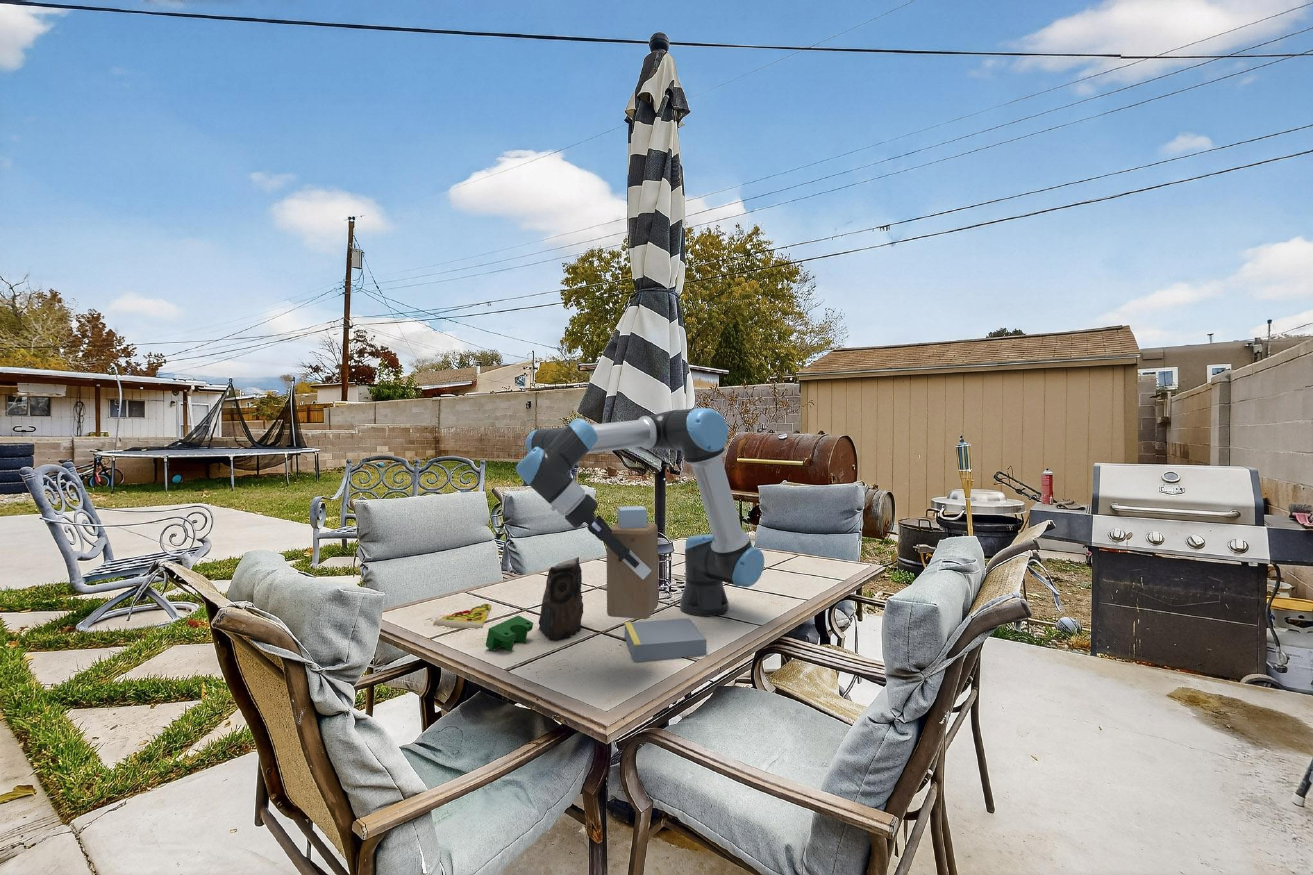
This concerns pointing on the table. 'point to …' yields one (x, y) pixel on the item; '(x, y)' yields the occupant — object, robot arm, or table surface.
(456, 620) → the pizza slice
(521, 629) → the clamp
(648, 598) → the wooden block
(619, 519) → the box
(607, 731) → the table surface
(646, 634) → the dock
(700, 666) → the table surface
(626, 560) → the robot arm
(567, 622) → the owl
